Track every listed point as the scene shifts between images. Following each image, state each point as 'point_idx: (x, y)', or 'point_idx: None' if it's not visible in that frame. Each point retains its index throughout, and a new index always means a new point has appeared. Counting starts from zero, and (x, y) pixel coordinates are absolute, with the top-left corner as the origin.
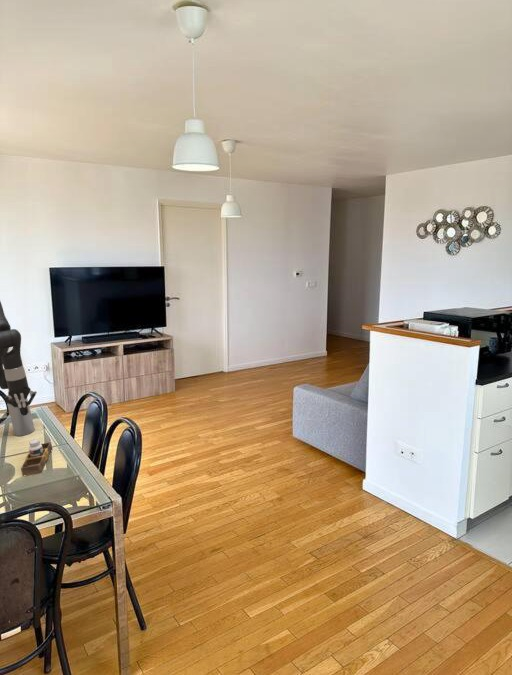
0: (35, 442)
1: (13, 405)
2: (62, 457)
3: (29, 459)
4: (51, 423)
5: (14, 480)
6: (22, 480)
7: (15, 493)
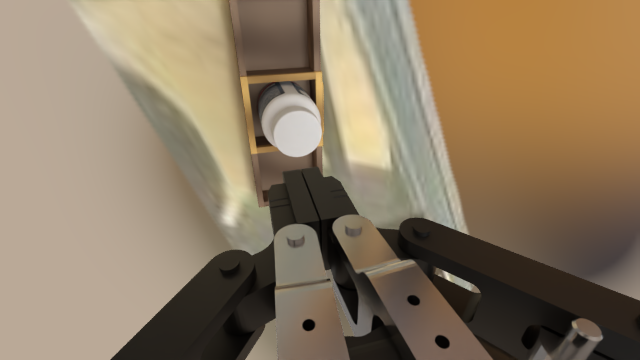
0: (309, 151)
1: (222, 342)
2: (367, 92)
3: (267, 150)
4: None
5: (239, 210)
6: (268, 214)
7: None
